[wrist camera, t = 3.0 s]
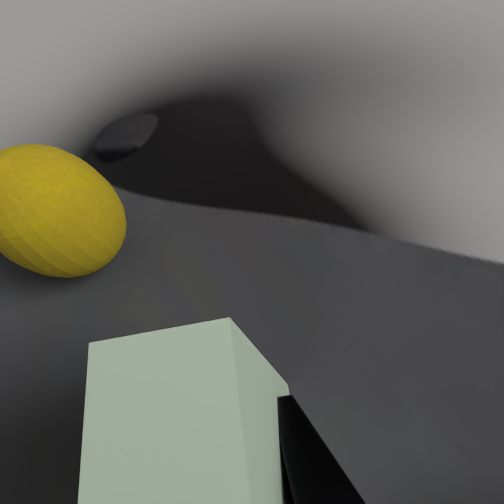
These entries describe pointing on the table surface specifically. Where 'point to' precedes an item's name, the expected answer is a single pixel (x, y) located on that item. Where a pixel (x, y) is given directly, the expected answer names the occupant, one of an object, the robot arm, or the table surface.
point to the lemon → (57, 212)
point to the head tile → (182, 420)
